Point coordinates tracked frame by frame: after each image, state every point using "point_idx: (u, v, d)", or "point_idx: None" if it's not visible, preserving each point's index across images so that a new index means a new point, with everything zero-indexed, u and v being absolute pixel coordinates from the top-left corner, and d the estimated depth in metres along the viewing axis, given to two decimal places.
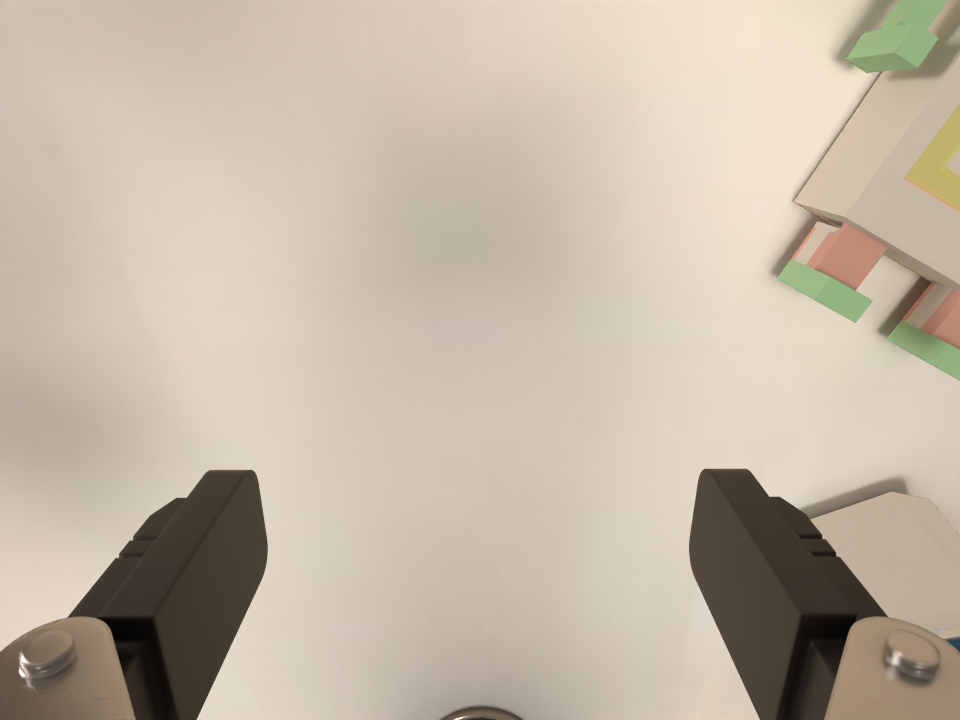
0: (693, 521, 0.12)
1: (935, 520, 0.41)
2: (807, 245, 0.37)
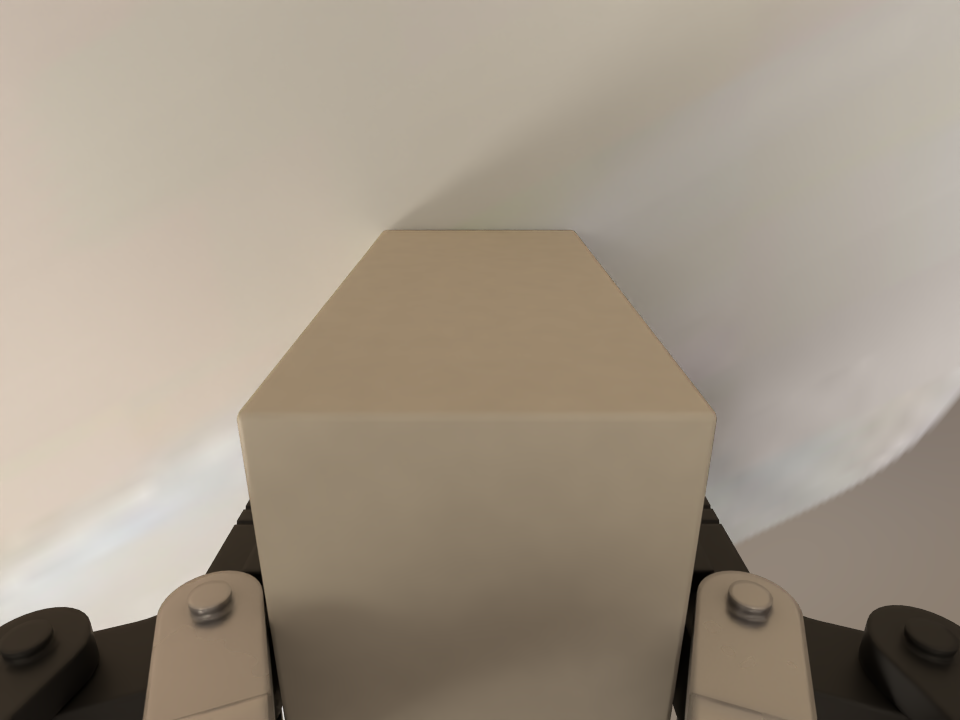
0: None
1: None
2: None
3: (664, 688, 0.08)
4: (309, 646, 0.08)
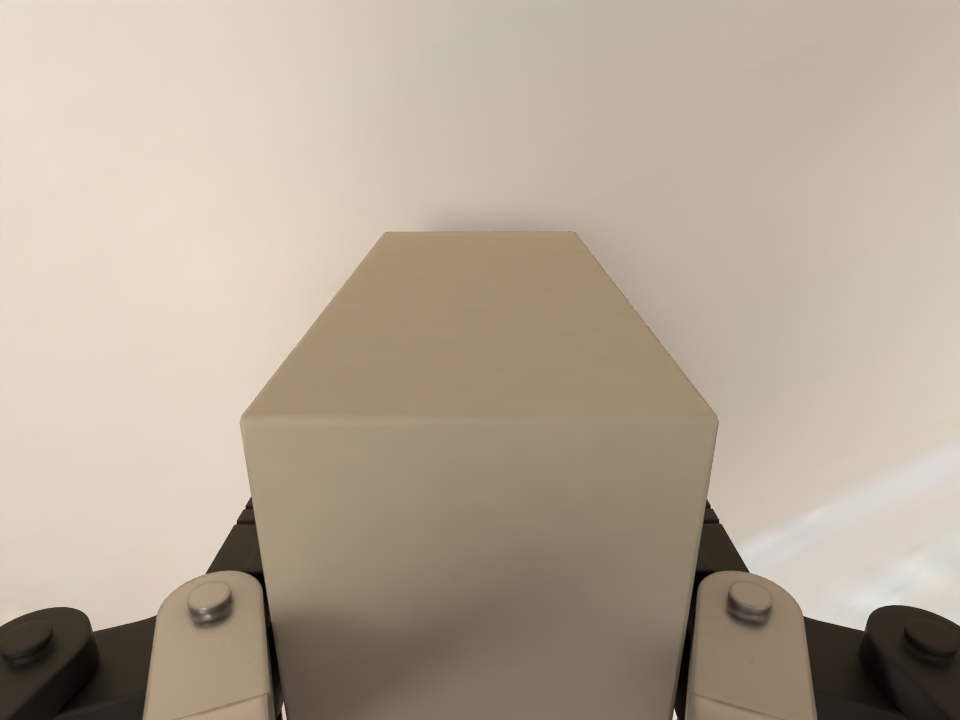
0: None
1: None
2: None
3: (666, 691, 0.08)
4: (311, 649, 0.08)
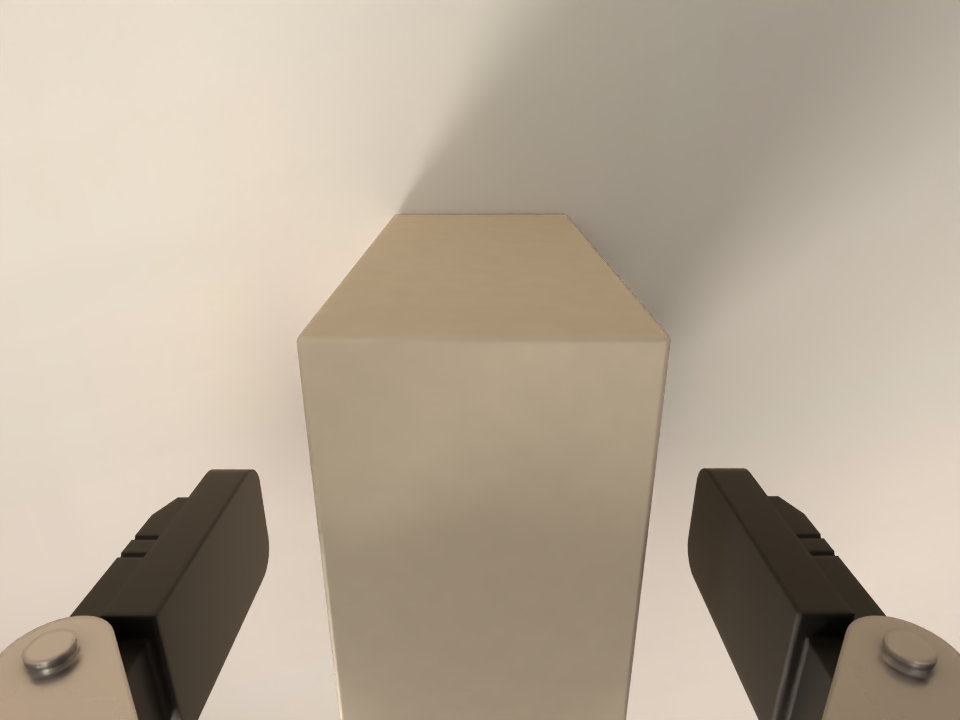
0: (692, 521, 0.12)
1: None
2: None
3: (634, 569, 0.10)
4: (348, 533, 0.09)
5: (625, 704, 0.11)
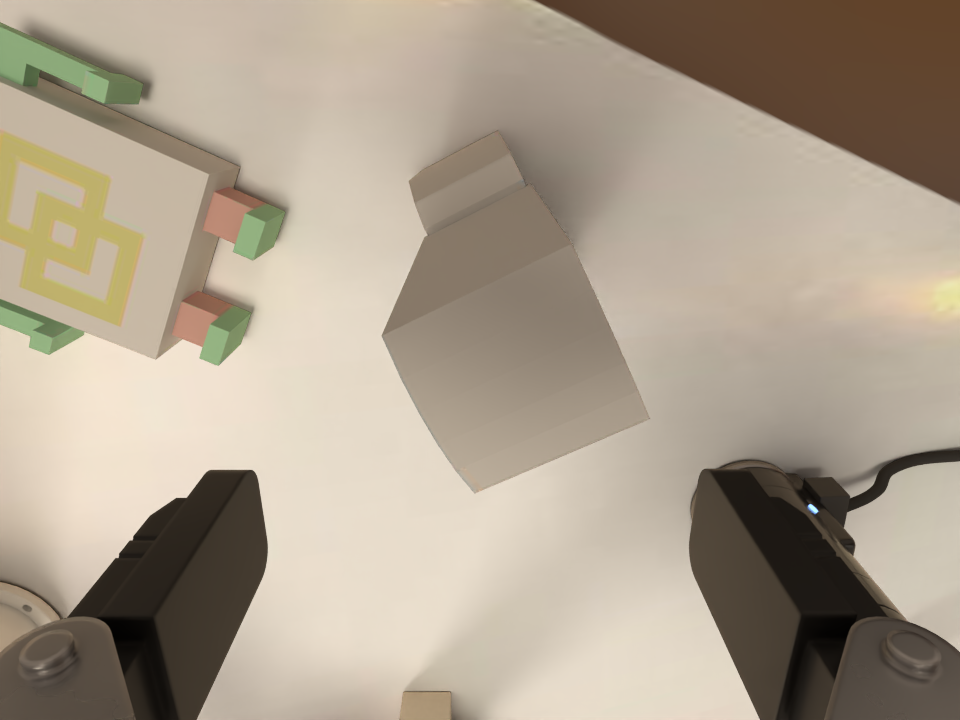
0: (693, 521, 0.12)
1: None
2: None
3: None
4: None
5: None
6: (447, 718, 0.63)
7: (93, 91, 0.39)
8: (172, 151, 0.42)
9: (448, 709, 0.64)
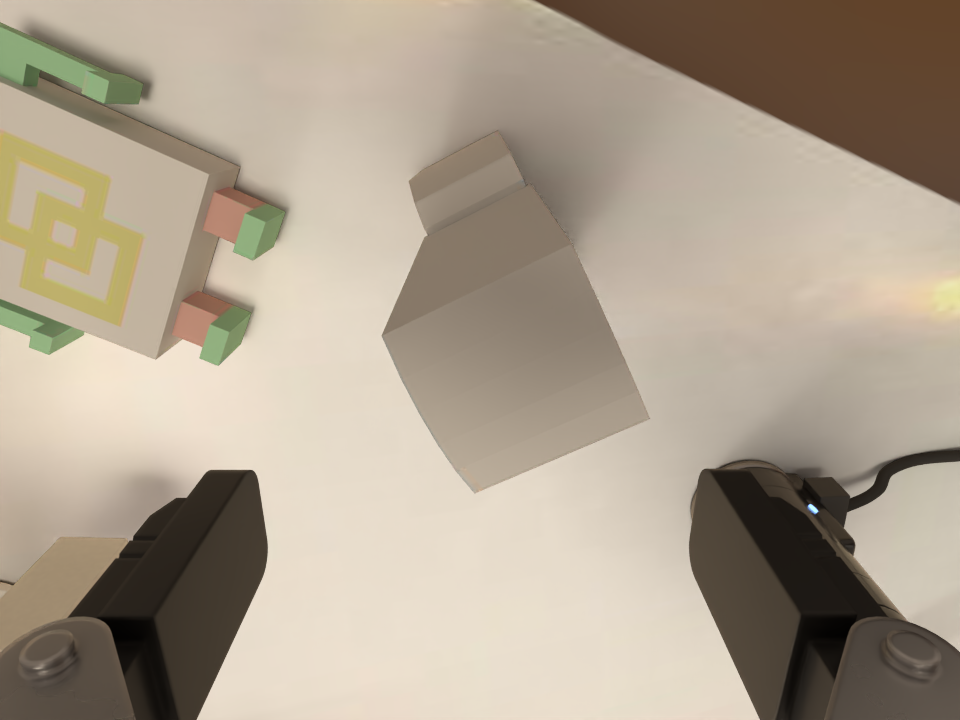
0: (693, 521, 0.12)
1: None
2: None
3: None
4: None
5: None
6: (102, 565, 0.44)
7: (93, 91, 0.39)
8: (172, 151, 0.42)
9: (110, 556, 0.45)
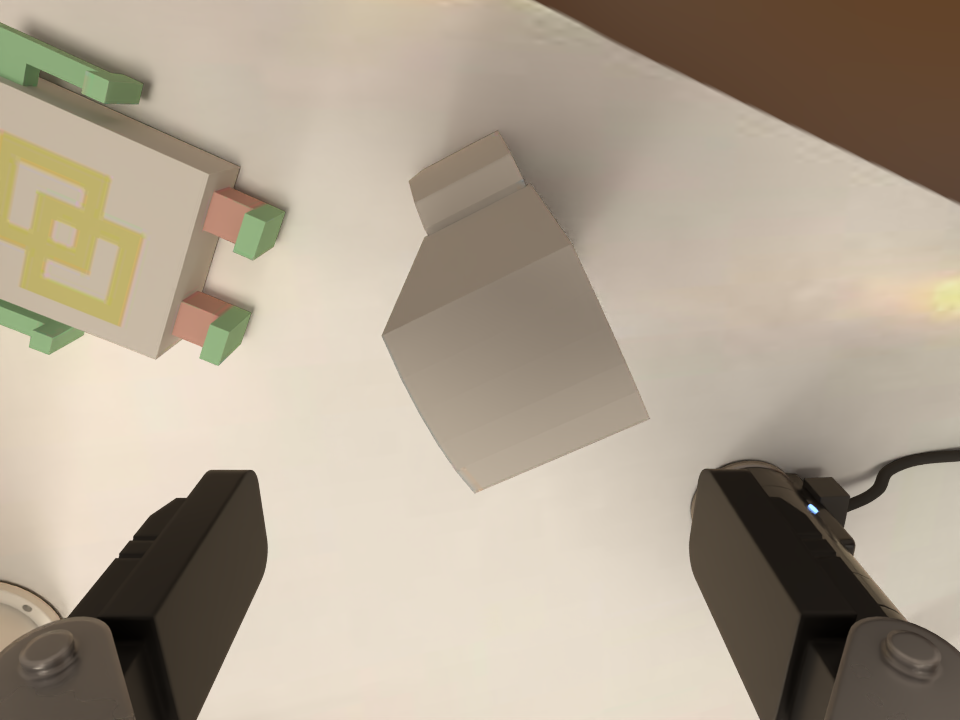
0: (693, 521, 0.12)
1: None
2: None
3: None
4: None
5: None
6: None
7: (93, 91, 0.39)
8: (172, 151, 0.42)
9: None
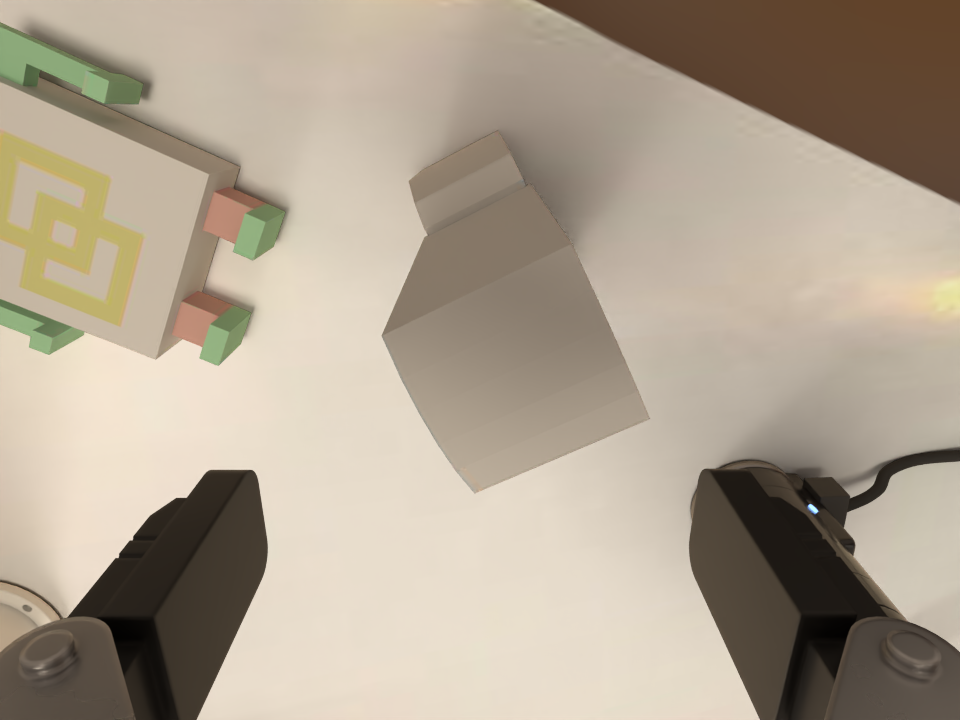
0: (693, 521, 0.12)
1: None
2: None
3: None
4: None
5: None
6: None
7: (93, 91, 0.39)
8: (172, 151, 0.42)
9: None
